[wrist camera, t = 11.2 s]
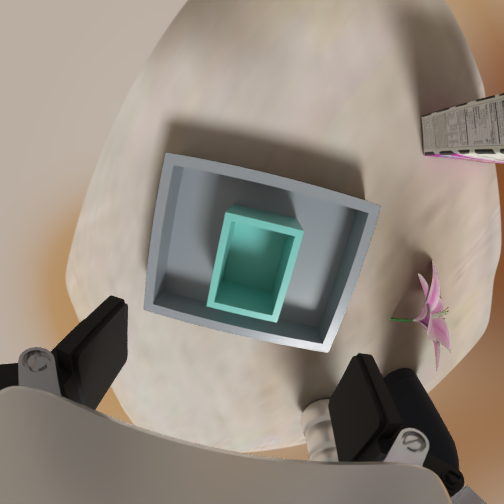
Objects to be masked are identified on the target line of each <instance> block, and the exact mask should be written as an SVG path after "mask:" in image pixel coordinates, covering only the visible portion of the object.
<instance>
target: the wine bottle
mask: <svg viewBox="0 0 504 504" xmlns="http://www.w3.org/2000/svg"><path fill="white" fill-rule="evenodd" d="M384 382H385V384H386V386H387V388H388V390H389V393H390V395H391V397H392V399H393V402H394V404H395V406H396V408H397V411H398V413H399V415H400V418H401V420H402V422H403V424H402V428H403V429H405V428H414V429H417V430H419V431H420V432H422V433H423V434H424V435H425V436H426V437H427V439H428V441H429V450H428V452H429V453H431V454H433V455H434V456H436V457H438V458H439V459H441V460H443V461H445V462H446V463H448V464H450V465H452V466H454V467H455V468H457V469H458V470H459V460H458V455H457V450H456V446H455V443H454V441H453V439H452V437H451V435H450V433H449V431H448V430H447V427H446V426H445V424H444V422H443V420H442V418H441V417H440V415H439V413H438V411H437V410H436V408H435V406H434V404H433V402H432V401H431V399H430V397H429V396H428V394H427V392H426V390H425V389H424V387H423V385H422V384H421V382H420V380H419V379H418V377H417V376H416V374H415V372H414V371H413V370H411V369H407V368H403V369H398V370H396V371H394V372H392V373H390V374H389V375H387V376H386V377H385V378H384Z"/></svg>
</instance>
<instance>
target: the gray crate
mask: <svg viewBox="0 0 504 504" xmlns="http://www.w3.org/2000/svg"><path fill="white" fill-rule="evenodd" d="M234 203H235V204H239V205H243V206H248V207H252V208H256V209H260V210H264V211H268V212H272V213H277V214H281V215H285V216H289V217H292V218H296V219H297V220H298V221H299V223H300V225H301V227H302V228H303V230H304V234H303V237H302V241H301V244H300V248H299V251H298V255H297V258H296V262H295V265H294V269H293V272H292V275H291V279H290V282H289V285H288V289H287V292H286V295H285V298H284V302H283V305H282V308H281V311H280V315H279V318H278V321H277V323H276V322H271V321H267V320H262V319H258V318H253V317H249V316H244V315H240V314H236V313H232V312H228V311H223V310H219V309H215V308H211V307H207V301H208V295H209V290H210V285H211V280H212V275H213V270H214V265H215V260H216V255H217V250H218V245H219V240H220V236H221V231H222V226H223V222H224V217H225V212H226V211H227V210H228V209H229V208H230V207H231V206H232V205H233V204H234ZM380 208H381V206H380V205H378V204H375V203H372V202H369V201H366V200H363V199H360V198H357V197H354V196H350V195H347V194H344V193H340V192H337V191H334V190H330V189H327V188H323V187H320V186H316V185H313V184H309V183H305V182H302V181H298V180H294V179H290V178H286V177H282V176H278V175H274V174H270V173H266V172H262V171H258V170H254V169H249V168H245V167H240V166H236V165H231V164H226V163H222V162H217V161H212V160H207V159H202V158H196V157H191V156H185V155H180V154H173V153H165V158H164V163H163V168H162V173H161V178H160V184H159V189H158V195H157V201H156V207H155V213H154V219H153V226H152V233H151V241H150V249H149V257H148V266H147V275H146V286H145V297H144V310H146V311H149V312H153V313H156V314H160V315H163V316H166V317H170V318H173V319H177V320H180V321H184V322H188V323H191V324H195V325H199V326H203V327H207V328H211V329H215V330H219V331H223V332H227V333H231V334H235V335H240V336H244V337H248V338H253V339H257V340H262V341H267V342H272V343H277V344H282V345H287V346H292V347H297V348H303V349H308V350H314V351H320V352H326V353H328V352H329V350H330V348H331V345H332V343H333V341H334V338H335V336H336V334H337V331H338V329H339V326H340V324H341V322H342V319H343V317H344V314H345V312H346V309H347V306H348V304H349V301H350V299H351V296H352V293H353V291H354V288H355V285H356V283H357V280H358V277H359V274H360V271H361V268H362V266H363V263H364V260H365V257H366V254H367V251H368V248H369V245H370V241H371V238H372V235H373V232H374V229H375V225H376V222H377V218H378V215H379V212H380Z"/></svg>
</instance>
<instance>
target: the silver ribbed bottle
mask: <svg viewBox="0 0 504 504" xmlns="http://www.w3.org/2000/svg"><path fill="white" fill-rule="evenodd" d="M329 400H330V399H322V400H318V401H315V402H313V403H311V404H310V405H309V406H308V407H307V408H306V409H305V410H304V411H303V414H302V419H301V426H302V430H303V433H304V436H305V438H306V443H307V447H308V452H309V461H332V462H339V461H338V456H337V450H336V445H335V439H334V434H333V429H332V424H331V419H330V414H329V409H328V404H329Z"/></svg>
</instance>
